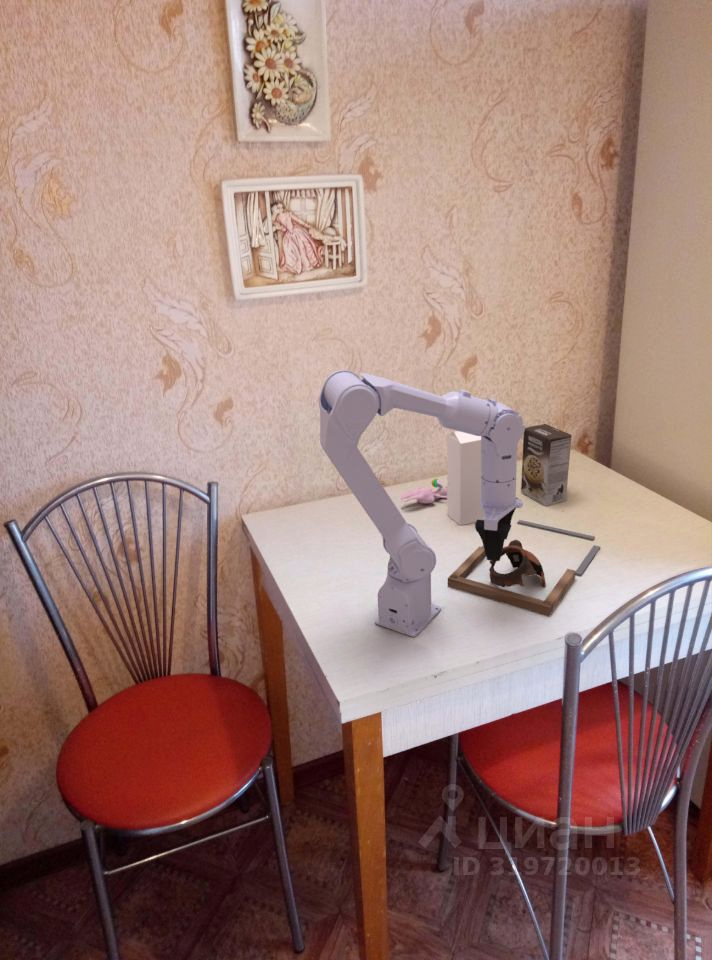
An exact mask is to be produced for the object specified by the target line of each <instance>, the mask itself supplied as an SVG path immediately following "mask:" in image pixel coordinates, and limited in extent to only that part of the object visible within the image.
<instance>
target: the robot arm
mask: <svg viewBox="0 0 712 960" xmlns="http://www.w3.org/2000/svg"><path fill="white" fill-rule="evenodd" d="M358 374H359V375H360V376H361V377H362V379H361V378H360V377H359V376H358V375H357V374H356V373H355V372H353V371H351V370H348V369H339V370H336V371H334V372H332V373H331V374H329V375H328V376H327V378H326V379H325V381H324V382H323V385H322V388H321V390H320V393H319V396H318V398H317V399H318V400H317V401H318V407H319V428H320V429H319V432H320V434H319V435H320V437H319V440H320V447H321V449H322V451H324V453H325V455H326V456H327V458H328V459H329V461H330V462H331V463H332V465H333V466H334V468H335V470H336V471H337V472H338V473H339V475H340V477H341V478H342V480H343V481H344V482H345V484H346V486H347V487H348V489H349V490H350V491H351V493H352V494H353V496H354V497H355V498H356V500H357V502H359V504H360V506H361V507H362V508H363V510H364V511H365V513H366V514H367V516H368V517H369V519H370V520H371V522H372V523H373V524H374V526H375V528H377V530H378V532H379V534H380V535H381V537H382V545H383V546H382V547H383V548H384V550H385V552H387V554H388V555H389V558H388V563H387V571H386V572H387V573H386V574H387V575H386V578H385V581H384V583H383V584H382V586H381V587H380V588H379V589H378V592H377V609H378V610H377V611H378V613H377V614H378V617H376V618H375V619H374V624H375V625H379V626H381V627H383V628H387V629H390V630H393V631H395V632H398V633H401V634H404V635H407V636H410V637H414V638H415V637H416V636H418V635H419V634H420V633H421V631H422V630H424V628H426V626H427V625H428V624H429V623H430V622H431V621H432V619H434V617H435V616H436V615H438V613H439V612H440V611H441V610H442V607H441V606H440V605H437V604H434V603H432V572H433V571H434V569H435V567H436V565H437V555H436V553H435V552H434V550H433V549H432V548H431V547H429V545H428V544H427V543H426V541H424V539H423V538H422V537H421V535H420V534H419V533H418V530H417V528H416V527H415V526H414V525H413V524H411V523H409V522H407V521H406V520H405V518H404V517H403V515H402V513H401V512H400V510H399V509H398V507H397V506H396V504H395V502H394V501H393V500H392V497H390V495H389V494H388V492H387V491H386V489H385V488H384V486H383V484H382V483H381V481H380V480H379V478H378V477H377V475H376V474H375V472H374V471H373V469H372V468H371V466H370V464H368V461H367V460H366V458H365V457H364V455H363V454H362V453H361V451H360V449H359V447H358V445H359V442H360V440H361V437H362V435H363V434H364V433H365V431H366V430H367V428H368V427H369V426H370V425H371V423H372V422H373V420H374V419H375V417H376V416H377V415H378V416H380V417H383V416H386V414H388V413H390V411H392V410H394V409H398V410H403V411H407V412H413V413H416V414H422V415H427V416H431V417H434V418H437V420H438V423H439V424H440V426H441V427H442V428H445V429H448V430H453V431H454V430H456V431H460V432H464V433H468V434H472V435H475V436H481V498H480V500H479V504H480V507H481V510H482V512H483V515H484V520H477V521H476V522H474V523H475V525H474V526H475V527H474V528H475V531H476V532H477V533H478V535H479V537H480V540H481V542H482V546H484V550H485V554H486V557H485V558H486V559H487V561H490V560H492V561H497V562H500V560H501V558H502V556H501V555H502V550H503V548H504V544H505V540H507V539H508V536H509V532H510V531H511V529H512V524H511V523H512V519H513V515H514V513H515V511H516V509H522V508H523V506H524V500H523V499H520V498H518V497H517V471H518V469H517V467H518V447H519V441H520V440H521V439H522V438H523V436H524V431H525V428H526V425H525V424H524V421H523V419H522V416H521V415H520V414H519V412H517V411H516V410H514V409H512V408H511V407H509V406H507V405H505V404H504V403H503V402H500V401H498V400H496V399H494V398H491V397H488V399H487V400H486V399H482V398H479V397H476V396H473V395H472V393H471V392H470V391H468V390H467V389H462V388H461V389H460V390H459V392H458V391H453V390H452V391H449V392H447V393H445V394H444V395H442V396H441V395H440V394H435V393H432V392H430V391H427V390H426V391H425V390H424V389H419V388H416V387H413V386H410V385H407V384H404V383H401V382H397V381H394V380H392V379H388V378H385V377H382V376H381V377H380V376H377V375H373V374H371V373H370V374H369V373H362V372H359V373H358Z"/></svg>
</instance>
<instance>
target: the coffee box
mask: <svg viewBox="0 0 712 960" xmlns="http://www.w3.org/2000/svg"><path fill="white" fill-rule="evenodd" d="M522 439H523V441H522V442H523V443H522V462H521V463H522V464H521V481H520V482H521V484H520V493H522V494H523V495H525V496H526V497H529V498H530V499H532V500H533V501H536V502H537V503H538V504H540V505H543V506H544V507H548V506H551V505H554V504H558V503H562V502H565V501H567V492H568V491H567V490H568V482H569V481H568V478H569V470H570V468H569V467H570V459H571V458H570V456H571V446H572V445H571V444H572V434H571V433H568V432H566V431H563V430H562V429H561V430H560V429H559V428H556V427H553V426H551V425H549V424H546V423H543V424H539V425H531V426H528V427H525V431H524V434H523V436H522Z"/></svg>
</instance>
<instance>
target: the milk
mask: <svg viewBox="0 0 712 960" xmlns="http://www.w3.org/2000/svg"><path fill="white" fill-rule="evenodd" d="M446 469H447V470H446V481H447V483H446V486H447V500H446V507H447V509H446V512H447V513H446V515H447V516H448V517H449V518H451V519H452V520H453V521H454V522H456V524H458V525H459V526H464V525H467V524H471V523H472V524H473V523H476V521H477V520H484V518H485V517H484V515H483V512H482V510H481V507H480V504H479V500H480V498H481V436H475V435H472V434H468V433H464V432H460V431H456V430H453V431H452V432H450V433H449V434H447V435H446Z"/></svg>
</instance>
